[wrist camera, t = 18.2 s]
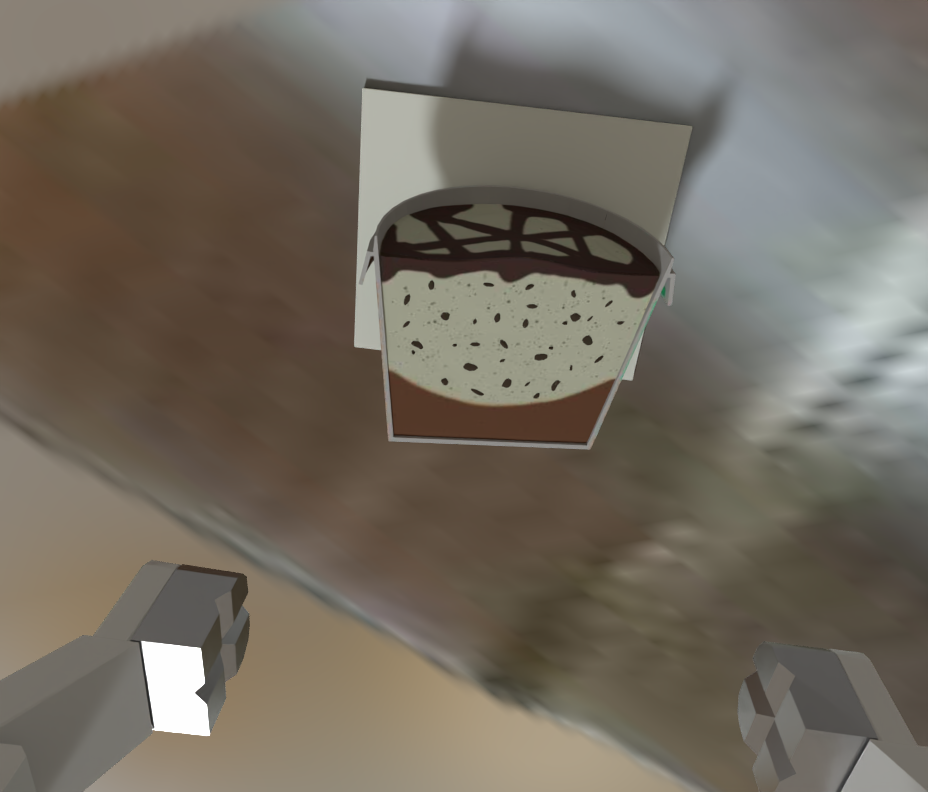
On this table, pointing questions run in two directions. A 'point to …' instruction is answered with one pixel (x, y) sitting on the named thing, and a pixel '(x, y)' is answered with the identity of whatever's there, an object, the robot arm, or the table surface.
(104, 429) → the table surface
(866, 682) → the robot arm
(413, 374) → the food container
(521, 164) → the cream flat rectangular plate
